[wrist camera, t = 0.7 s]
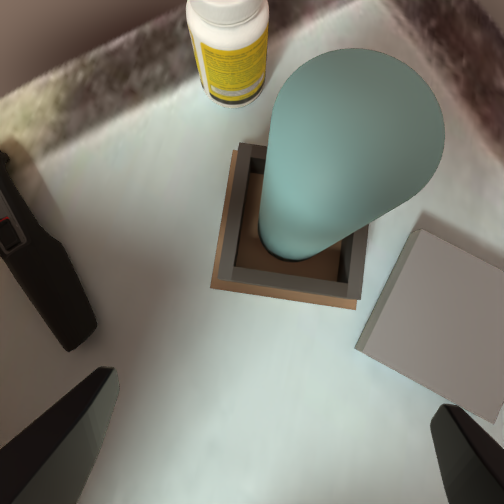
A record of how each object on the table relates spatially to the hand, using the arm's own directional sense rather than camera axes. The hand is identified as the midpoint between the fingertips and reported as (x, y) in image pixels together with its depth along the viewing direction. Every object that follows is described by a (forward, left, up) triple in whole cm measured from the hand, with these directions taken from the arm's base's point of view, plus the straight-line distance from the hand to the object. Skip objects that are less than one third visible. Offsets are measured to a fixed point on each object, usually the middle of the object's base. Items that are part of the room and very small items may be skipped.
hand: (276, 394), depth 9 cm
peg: (+7, +2, -12) cm, 14 cm away
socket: (+7, +2, -13) cm, 15 cm away
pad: (+8, -10, -13) cm, 18 cm away
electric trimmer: (-4, +16, -14) cm, 22 cm away
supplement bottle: (+14, +12, -13) cm, 23 cm away
